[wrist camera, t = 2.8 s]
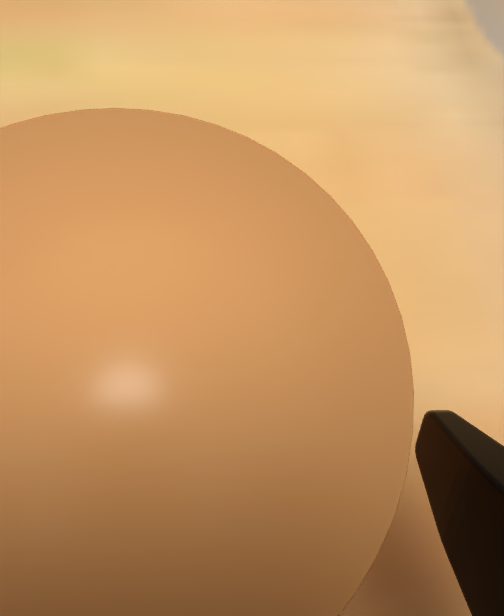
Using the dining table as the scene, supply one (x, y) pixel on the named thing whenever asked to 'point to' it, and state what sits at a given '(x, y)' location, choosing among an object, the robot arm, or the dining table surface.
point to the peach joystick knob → (188, 376)
